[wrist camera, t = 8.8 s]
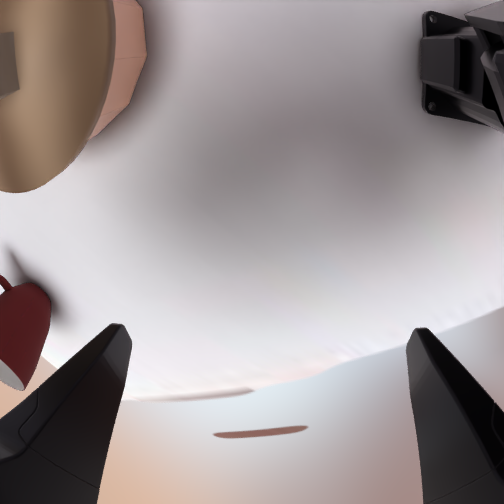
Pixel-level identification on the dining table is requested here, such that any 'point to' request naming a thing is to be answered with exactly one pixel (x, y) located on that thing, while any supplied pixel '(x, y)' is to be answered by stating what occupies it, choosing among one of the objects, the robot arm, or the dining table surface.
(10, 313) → the mug
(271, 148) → the dining table surface
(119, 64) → the bowl
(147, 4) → the dining table surface
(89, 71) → the lid
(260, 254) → the dining table surface
